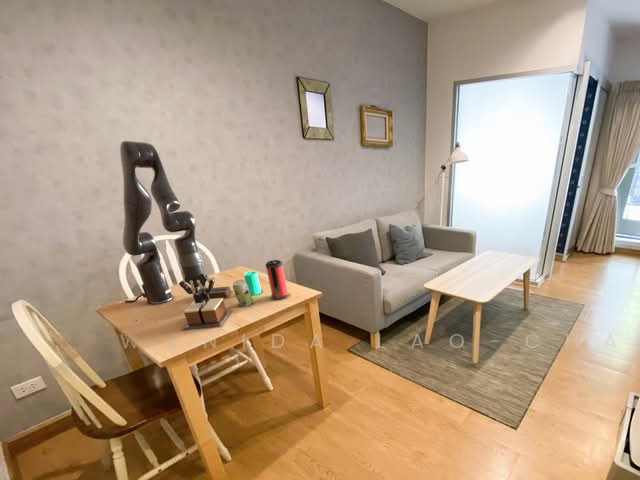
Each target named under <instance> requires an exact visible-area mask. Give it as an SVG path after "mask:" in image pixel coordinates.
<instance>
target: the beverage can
mask: <svg viewBox="0 0 640 480" xmlns="http://www.w3.org/2000/svg"><path fill="white" fill-rule="evenodd" d="M232 289H233V293H234V294H235V297H236V299H237V302H238V304H239V305H240V306H243V307H245V306H246V307H247V306H249V305H251V304H252V303H253V296H252V295H251V294H250V291H249V289H248V286H247V283H246V282H245V279H237V280H235V281H234V282H233V283H232Z"/></svg>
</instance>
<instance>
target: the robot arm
mask: <svg viewBox="0 0 640 480" xmlns="http://www.w3.org/2000/svg"><path fill="white" fill-rule="evenodd" d="M119 155H120V164H121V170H122V179H123V211H124V215H123V216H124V221H123V222H124V224H123V232H122V245H123V248H124V250H125V252H126V253H127V254H128V255H130V256H131V257H132V256H134V257H135V256H142V258H140V259H139V260H138V261H137V262H136V263H135V266H136V269H137V271H138V274H139V276H140V279H141V281H142V284H141V288H142V290H143V292H142V293H141V294H139V295H137V296H136V298H135V299H133V300H127V299H126V300H124V302H125V303H135V302H137V301H138V300H139V298H141V297H142V298H143V299H146V301H147V303H148V304H152V305H159V304H162V303H167V302H169V301H172V299H173V298H174V297H173V295H172V292H171V288H170V286H169V284H168V280H167V277H166V275H165V272H164V269H163V265H162V263H161V257H160V252H159V249H158V246H157V243H156V239H155V238H154V236H153V235H152V234H151V233H149V232H147V231H142V232H141V230H142V228H143V226H144V225H145V223H146V222H147V221H148V219H149V218H150V216H151V214H152V210H153V209H152V207H153V204H152V203H153V200H154V202H155V204H156V205H157V207H158V209H159V213H160V217H161V222H162V223H161V224H162V227H163V229H164V230H165V231H166V232H168V233H179V232H184V234H182V235H181V236H179V237H176V238H175V239H174V242H173V243H174V246H175V250H176V253H177V255H178V261H179V264H180V267H181V271H182V275H183V276H184V278H183V279H182V280H181V281H179V282H178V285H179V286H180V287H181V288H182V289H183V290H184V291H185V292H186V293H187V294H188V295H192V296H193V295H194V294H195V293H196V292H197V291H198V290H199V289H201V290H202V292H203V296H204V299H205V302H208V301H209V300H210V297H209V294H208V293H210V292H211V291H212V289H213V288H214V285H215V281H216V278H215V277H212V278H211V277H209V276H208V275H207V273H206V270H205V266H204V263H203V259H202V256H201V253H200V251H199V248H198V245H197V241H196V219H195V217H194V215H193V214H192V213H191V212H190V211H187V210H182V211H178V210H179V209H180V208H181V203H180V200H179V199H178V198H177V196H176V194H175V192H174V190H173V189H172V187H171V183H170V182H169V180H168V177H167V173H166V171H165V168H164V166H163V165H164V164H163V163H162V160H161V157H160V155H159V153H158V151H157V149H156V148H155V146H154V145H153V144H151V143H148V142H144V141H143V142H142V141H134V140H133V141H132V140H123V141H121V143H120V146H119ZM136 168H139V169H151V170H152V172H153V178H152V181H151V184H150V192H151V194H150V192H149V191H148V190H147V189H146V187H145V186H144V185H143V184H142V182H141V181H140V180H139V178H138V176H137V174H136V173H137V172H136ZM151 195H152V196H151ZM152 197H153V199H152ZM207 284H208V286H207ZM207 288H208V289H207Z"/></svg>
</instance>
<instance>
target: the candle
mask: <svg viewBox="0 0 640 480" xmlns="http://www.w3.org/2000/svg"><path fill="white" fill-rule="evenodd" d="M243 276H244V281H245V282H246V283H247V286H248V289H249V291H250V294H251V296H256V295H259V294H260V293H261V292H262V290H261V285H260V281H259V276H258V273H257V272H256V271H252V270H249V271H246V272H244V273H243Z"/></svg>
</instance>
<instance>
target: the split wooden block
mask: <svg viewBox="0 0 640 480" xmlns="http://www.w3.org/2000/svg"><path fill="white" fill-rule="evenodd" d="M201 307H202V303H195V301H194V300H193V301H192V302H191V303H190V304H189V305H188V307H186V308H185V309H184V311H183V314H184V317H185V320H186V322H187V324H186V325H185V326H184V327H183V329H184V330H194V329H203V328H216V327H221V326H222V325H223V323H224V321H226V319H227V318H228V316H229V314H230V313H231V309H227V308H226V304H225V300H224V298H216V299H210V300H209V301H208V303H207V304H206V305H205V306H204V307H203V308H202V310H201V309H200V308H201ZM203 318H204V319H203Z"/></svg>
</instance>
